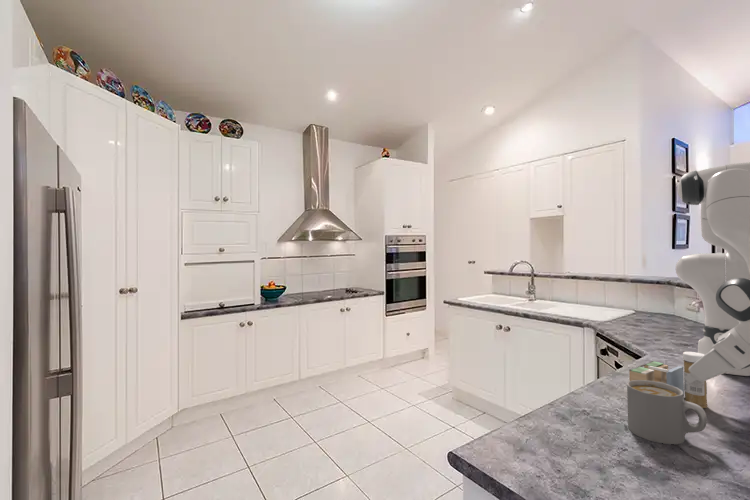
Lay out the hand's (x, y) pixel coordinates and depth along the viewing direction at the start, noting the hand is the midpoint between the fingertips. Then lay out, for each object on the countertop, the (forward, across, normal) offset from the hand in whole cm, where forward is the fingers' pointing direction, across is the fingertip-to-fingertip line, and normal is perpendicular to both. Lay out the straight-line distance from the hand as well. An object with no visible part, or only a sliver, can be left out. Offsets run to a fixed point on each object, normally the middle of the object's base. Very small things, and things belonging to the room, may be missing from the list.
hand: (691, 377), depth 94 cm
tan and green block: (+11, 0, -2) cm, 11 cm away
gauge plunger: (+9, 0, +1) cm, 9 cm away
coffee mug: (+3, +25, +7) cm, 26 cm away
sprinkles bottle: (+5, 0, +6) cm, 7 cm away
